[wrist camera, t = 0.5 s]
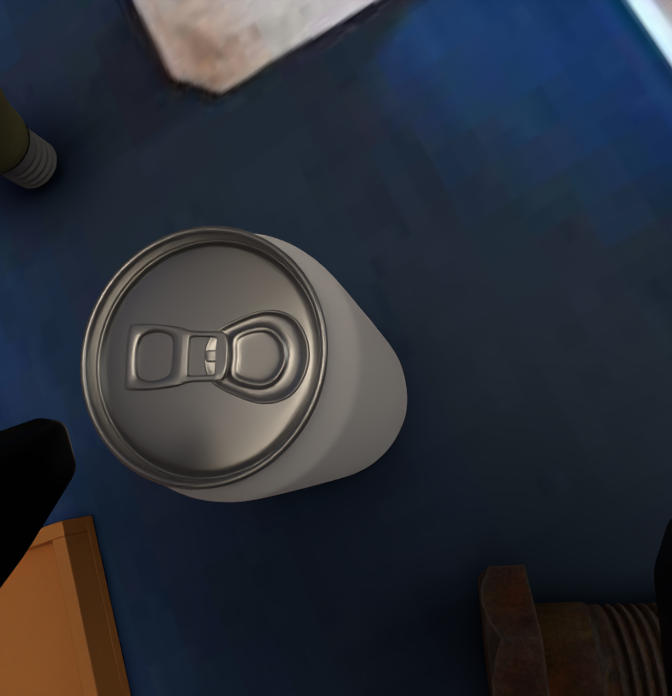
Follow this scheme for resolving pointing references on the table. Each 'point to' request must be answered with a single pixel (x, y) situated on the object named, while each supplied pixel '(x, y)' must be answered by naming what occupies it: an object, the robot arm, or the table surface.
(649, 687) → the bolt
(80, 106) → the table surface
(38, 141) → the light bulb
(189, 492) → the can
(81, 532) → the tray
